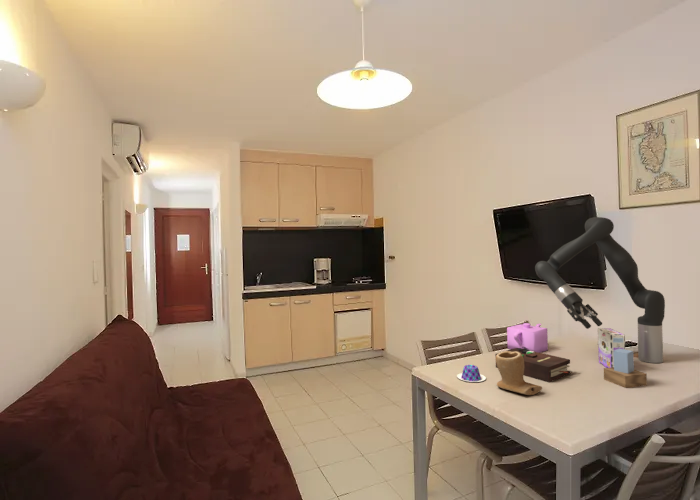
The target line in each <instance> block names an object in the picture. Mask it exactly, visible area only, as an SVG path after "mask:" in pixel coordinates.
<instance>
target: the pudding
mask: <svg viewBox="0 0 700 500" xmlns="http://www.w3.org/2000/svg"><path fill="white" fill-rule="evenodd" d="M456 378H457V379H459V380H461V381H464V382H470V383H478V382H479V383H480V382H484V381H485V380H486V379H487V377H486V376H485V375H483V374H481V373H480V370H479V367H478V366H477V365H474V364H466V365H464V366H463V369H462V372H460V373H458V374H457V375H456Z"/></svg>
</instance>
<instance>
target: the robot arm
mask: <svg viewBox="0 0 700 500" xmlns="http://www.w3.org/2000/svg"><path fill="white" fill-rule="evenodd" d="M614 227H615V225H614V223H613V221H612V220H611V219H609V218H607V217H600V216H597V217H596V216H594V217H589V218H588V219H587V220H586V221H585V223H584V229H585V232H584V233H583V234H581V235H580V236H578V237H577V238H574V239H573V240H571V241H569V242H567V243H565V244H563V245H562V246H561V247H559V248H557V250H555V251H554V252H553V253H552V254H551V255H550V256H549V259H548V260H547V261H545V260H539V261H538V262H537V263H536V264H535V266H534V270H535V273H536V276H537V277H538V278H539V279H540V280H543V281H544V282H545V283H546V285H547V287H548V289H550V290H551V292H552V293H553V294H554V296H556V298H557V299H558V300H559V301H560V303H562V305H563V306H564V307H565V308H566V309H567V310H566V311H567V313H568V314H569V315H570V316H571V318H572V319H573V320H574V321H575V322H578V323H581V324H582V325H583V327H584V328H585V329H587V330H589V329H590V328H591V327H592V324H591V323H590V322H589V321H588V320H587V319H586V318H589V319H591V320H592V322H594V324H595V325H596V326H597V327H600V326H602V325H603V322H602V321H601V320H600V319H599V317H598V315H599V314H598V312H597V311H596V310H595V309H594V308H593V307H592V306H591V305H590V304H589V303H587V304H586V305H585V304H583V299H582V297H581V296H580V295H579V293H577V292H576V290H575V289H573V288H572V286H571V285H569V284H568V283H567V282H566V281H565V280H564V279H563V278H562V277H561V276H560V275H559V273H558V271H559V270H560V269H561V267H563V266H564V265H565V264H567V263H569V262H570V261H571V260H572V259H574V257H576V256H577V255H578V254H580V253H582V251H585V250H586V249H587V248H589V247H591V246H592V245H594V244H596V245H597V247H598V248H599V250H600V251H601V253H602V254H603V256H604V258H605V259H606V260H607V262H608V264H609V265H610V267H611V268H612V270H613V271H614V272H615V274H616V275H617V276H618V277H617V278H619V280H620V281H621V283H622V284H623V286H624V287H625V289H626V291H627V292H628V294H629V296H630V298H631V300H632V302H633V304H634V305H635V306H636V307H638V308H640V309H644V313H643V315H641V316H638V317H637V349H638V350H637V353H638V355H637V356H638V360H639V361H641V362H646V363H652V364H662V363H663V362H664V350H663V348H664V345H663V343H664V342H663V338H664V337H663V336H664V335H663V322H664V319H665V312H666V311H665V308H666V303H665V302H666V301H665V300H666V299H665V297H664V295H663V293H661V292H660V291H658V290H651V289H647V288H646V287H645V286H644V285H643V283H642V282H641V280H640V279H639V278H640V277H639V269H638V264H637V263H636V261H635V259H634V258H633V256H632V255H631V254H630V252H629V251H628V250H627V249H625V248H624V247H623V246H622V245H621V244H620V243H619V242H618V241H616V240H615V239H614V237H612V232H613V231H614Z"/></svg>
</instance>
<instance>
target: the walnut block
mask: <svg viewBox="0 0 700 500" xmlns="http://www.w3.org/2000/svg"><path fill="white" fill-rule="evenodd" d="M647 377H648V376H647V373H645V372H643V371H640V370H637V369H634V371H633V372H631V373H623V372H619V371H615V370H614V367H611V368H606V367H605V368H604V367H603V379H604V381H606V382H609V383H612V384H614V385H617V386H619V387H621V388H624V389H630V388H636V387H637V388H638V387H644V386H645V387H646V386H647V385H648V378H647Z"/></svg>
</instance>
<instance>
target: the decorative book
mask: <svg viewBox="0 0 700 500" xmlns="http://www.w3.org/2000/svg"><path fill="white" fill-rule="evenodd" d="M522 348H523V349H522ZM522 348H514V349H507V350H506V351H510V352H514V351H517V352H519V353H520V354H521V355H522V356H523V358H524V374H523V377H528V378H532V379H535V380H538V381H543V382H545V383H551V382H554V381H557V380H559V379H561V378H564V377H566V376H567V377H568V376H570V375H571V371H570V370H568V368H569V367H570V365H569V364H571V359H570V358H569V359H568V358H565V357H561V356H556V355H551V354H547V353H544V352H541V353H539V352H534V351H530V350H528V348H526V347H522ZM501 352H502V351H501ZM501 352H497V353H495V354H494V355H495V358H496V355H497V354H498V353H501ZM495 368H497V369H498V367H497V364H496V363H495ZM556 379H557V380H556Z"/></svg>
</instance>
